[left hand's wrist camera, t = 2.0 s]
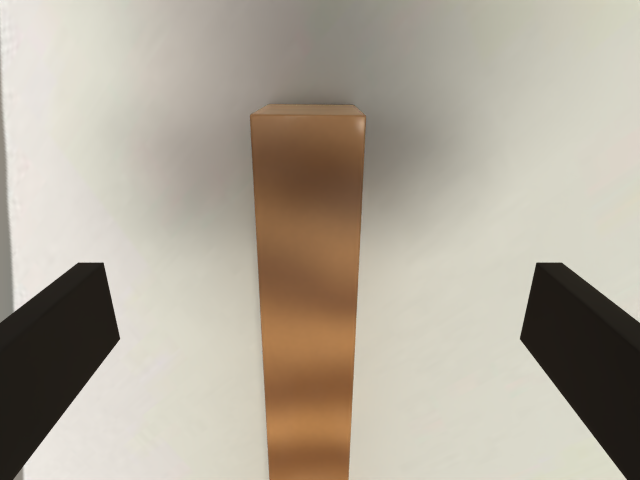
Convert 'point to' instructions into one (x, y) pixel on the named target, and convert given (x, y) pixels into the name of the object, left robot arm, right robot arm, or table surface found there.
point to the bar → (308, 280)
